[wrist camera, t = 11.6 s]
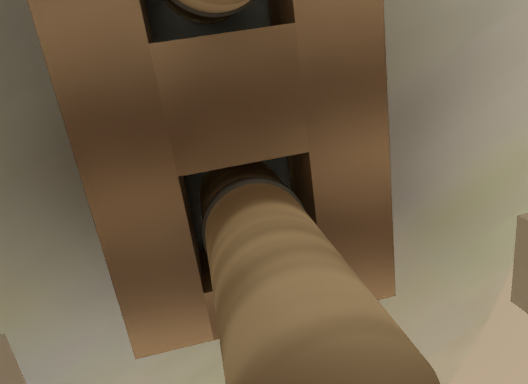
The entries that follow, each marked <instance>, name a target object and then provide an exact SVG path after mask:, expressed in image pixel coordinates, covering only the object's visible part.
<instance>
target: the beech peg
mask: <svg viewBox="0 0 528 384" xmlns="http://www.w3.org/2000/svg"><path fill="white" fill-rule="evenodd" d="M199 198H200V205H201V212H202V238H203V244H204V247H205V250H206V252H207V255H208V261H209V268H210V275H211V283H212V290H213V297H214V304H215V311H216V318H217V325H218V332H219V339H220V346H221V353H222V360H223V367H224V374H225V381H226V384H440V383H439V380H438V378H437V375H436V373H435V371H434V370H433V368H432V367H431V365H430V364H429V363H428V361H427V360H426V359H425V358H424V357H423V355H422V354H421V353H420V352H419V350H418V349H417V348H416V347H415V346H414V344H413V343H412V342H411V341H410V339H409V338H408V337H407V336H406V334H405V333H404V332H403V331H402V330H401V328H400V327H399V326H398V325H397V323H396V322H395V321H394V320H393V319H392V317H391V316H390V315H389V314H388V312H387V311H386V310H385V309H384V307H383V306H382V305H381V304H380V303H379V301H378V300H377V299H376V298H375V296H374V295H373V294H372V293H371V291H370V290H369V289H368V288H367V287H366V285H365V284H364V283H363V282H362V280H361V279H360V278H359V277H358V276H357V274H356V273H355V272H354V271H353V269H352V268H351V267H350V266H349V264H348V263H347V262H346V261H345V260H344V258H343V257H342V256H341V255H340V253H339V252H338V251H337V250H336V249H335V247H334V246H333V245H332V244H331V242H330V241H329V240H328V239H327V237H326V236H325V235H324V234H323V233H322V231H321V230H320V229H319V228H318V226H317V225H316V224H315V223H314V222H313V220H312V219H311V218H310V217H309V215H308V214H307V213H306V212H305V210H304V207H303V205H302V204H301V202H300V201H299V199H298V198H297V197H296V195H295V194H294V193H293V192H292V191H291V190H290V189H289V188H288V187H287V186H285V185H284V184H283V183H282V182H281V181H280V180H279V179H278V177H277V176H276V175H275V174H274V172H273V171H272V170H271V169H270V168H269V167H268V166H267V165H266V164H265V163H264V162H262V161H259V162H253V163H248V164H243V165H237V166H232V167H227V168H222V169H216V170H211V171H208V172H207V173H206V175H205V177H204V179H203V181H202V183H201V187H200V197H199Z"/></svg>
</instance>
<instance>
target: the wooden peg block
mask: <svg viewBox="0 0 528 384" xmlns="http://www.w3.org/2000/svg"><path fill="white" fill-rule="evenodd" d="M27 1H28V5H29V8H30V11H31V15H32V18H33V21H34V25H35V28H36V31H37V35H38V38H39V41H40V44H41V48H42V51H43V54H44V58H45V61H46V64H47V68H48V71H49V74H50V78H51V81H52V84H53V88H54V91H55V94H56V97H57V101H58V104H59V107H60V111H61V114H62V117H63V121H64V124H65V127H66V131H67V134H68V137H69V140H70V144H71V147H72V150H73V154H74V157H75V160H76V164H77V167H78V170H79V174H80V177H81V180H82V184H83V187H84V190H85V193H86V197H87V200H88V203H89V207H90V210H91V213H92V217H93V220H94V223H95V227H96V230H97V233H98V236H99V240H100V243H101V246H102V250H103V253H104V256H105V260H106V263H107V266H108V270H109V273H110V276H111V280H112V283H113V286H114V289H115V293H116V296H117V299H118V303H119V306H120V309H121V313H122V316H123V319H124V323H125V326H126V329H127V333H128V336H129V339H130V342H131V346H132V349H133V352H134V356H135V359H138V358H142V357H146V356H150V355H155V354H159V353H163V352H167V351H171V350H175V349H179V348H183V347H187V346H191V345H196V344H200V343H204V342H208V341H212V340H216V339H219V332H218V325H217V318H216V311H215V304H214V297H213V290H212V283H211V275H210V268H209V261H208V255H207V252H206V251H202V252H199V248H198V243H197V238H196V234H195V229H194V224H193V220H192V215H191V211H190V206H189V201H188V197H187V192H186V187H185V183H184V178H183V176H184V175H190V174H195V173H200V172H206V171H211V170H216V169H222V168H227V167H232V166H237V165H243V164H248V163H253V162H259V161H264V160H269V159H275V158H280V157H285V156H288V161H289V169H290V177H291V185H292V192H293V193H294V194H295V195H296V197H297V198H298V199H299V201H300V202H301V204H302V205H303V207H304V210H305V212H306V213H307V214H308V215H309V217H310V218H311V219H312V220H313V222H314V223H315V224H316V225H317V226H318V228H319V229H320V230H321V231H322V233H323V234H324V235H325V236H326V237H327V239H328V240H329V241H330V242H331V244H332V245H333V246H334V247H335V249H336V250H337V251H338V252H339V253H340V255H341V256H342V257H343V258H344V260H345V261H346V262H347V263H348V264H349V266H350V267H351V268H352V269H353V271H354V272H355V273H356V274H357V276H358V277H359V278H360V279H361V280H362V282H363V283H364V284H365V285H366V287H367V288H368V289H369V290H370V291H371V293H372V294H373V295H374V296H375V298H376V299H377V300H380V299H384V298H388V297H393V296H396V294H395V270H394V245H393V221H392V197H391V172H390V148H389V124H388V99H387V75H386V51H385V26H384V2H383V0H268V1H269V9H270V17H271V25H272V26H269V27H262V28H255V29H248V30H241V31H234V32H227V33H220V34H213V35H206V36H199V37H192V38H185V39H178V40H171V41H164V42H157V43H154V39H153V34H152V30H151V25H150V20H149V16H148V11H147V6H146V2H145V0H27ZM165 1H166V3H167V4H168V5H169V6H170V7H171V8H172V9H173V10H174V11H175V12H176V13H177V14H179V15H180V16H182V17H183V18H185V19H187V20H190V21H193V22H196V23H203V24H209V23H216V22H220V21H222V20H225V19H226V18H228V17H230V16H231V15H233V14H235V13H238V12H239V11H241V10H243V9H245V8H246V7H247V6H249V5H250V4H251V3H253V2H254V1H255V0H165Z"/></svg>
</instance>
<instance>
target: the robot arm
mask: <svg viewBox="0 0 528 384" xmlns="http://www.w3.org/2000/svg"><path fill="white" fill-rule="evenodd" d="M511 302H513V303H514V304H515V305H517V306H518V307H520V308H521V309H522V310H524V311H525V312H526V313H528V213H527V214H523V215H518V217H517V229H516V242H515V254H514V267H513V280H512V292H511ZM0 384H26V382H25V380H24V377H23V375H22V373H21V371H20V368H19V366H18V364H17V361H16V359H15V357H14V354H13V352H12V350H11V347H10V345H9V343H8V340H7V338H6V336H5V334H2V335H0Z"/></svg>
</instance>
